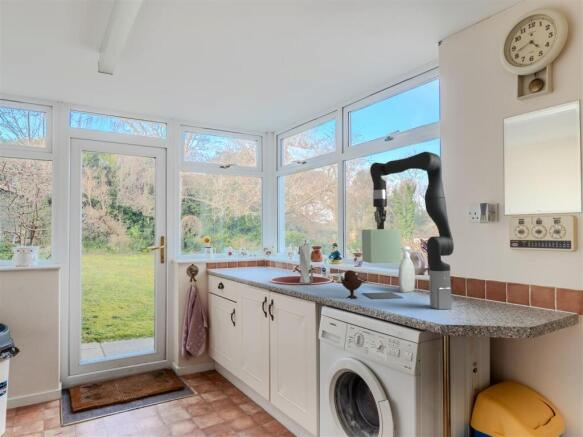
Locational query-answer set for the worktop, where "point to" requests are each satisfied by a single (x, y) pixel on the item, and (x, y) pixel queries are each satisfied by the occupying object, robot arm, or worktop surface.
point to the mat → (382, 295)
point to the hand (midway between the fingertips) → (380, 229)
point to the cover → (381, 245)
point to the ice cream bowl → (351, 283)
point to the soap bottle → (406, 273)
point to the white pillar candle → (305, 264)
